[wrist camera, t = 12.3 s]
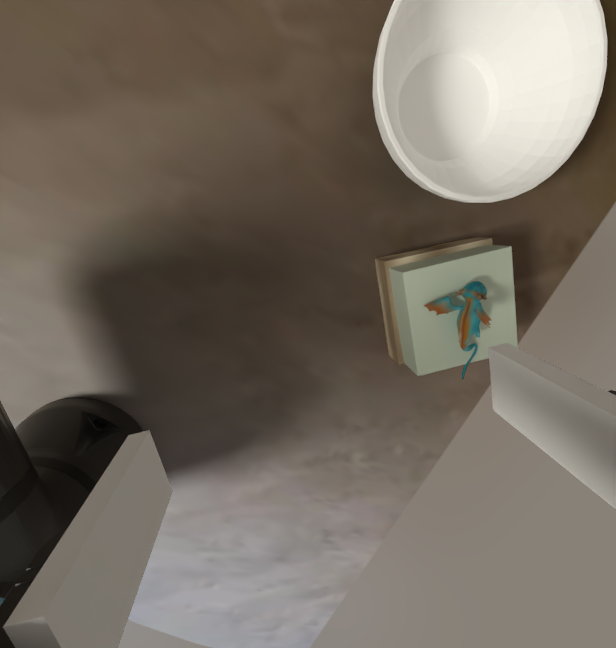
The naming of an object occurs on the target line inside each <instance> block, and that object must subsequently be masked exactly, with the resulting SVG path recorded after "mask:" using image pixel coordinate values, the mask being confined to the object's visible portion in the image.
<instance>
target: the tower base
mask: <svg viewBox="0 0 616 648" xmlns="http://www.w3.org/2000/svg"><path fill="white" fill-rule="evenodd" d="M487 244H490V245H493V241H492V238H481V237H473V238H468V239H463V240H459V241H454V242H450V243H445V244H440V245H436V246H431V247H427V248H422V249H418V250H413V251H408V252H404V253H399V254H395V255H390V256H385V257H381V258H376V259H375V264H376V271H377V278H378V285H379V291H380V298H381V305H382V312H383V318H384V325H385V332H386V339H387V346H388V352H389V356H390V357H391V358H392V359H393V360H394V361H395V362H396V363H397V364H398V365H403V364H405V363H404V360H403V354H402V347H401V341H400V335H399V328H398V322H397V316H396V310H395V303H394V297H393V291H392V285H391V278H390V272H389V268H391V267H396V266H400V265H404V264H408V263H412V262H416V261H420V260H425V259H429V258H433V257H437V256H441V255H445V254H449V253H454V252H458V251H462V250H466V249H470V248H474V247H478V246H482V245H487Z"/></svg>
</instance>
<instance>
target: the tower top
mask: <svg viewBox="0 0 616 648" xmlns="http://www.w3.org/2000/svg"><path fill="white" fill-rule="evenodd" d="M389 272H390V278H391V285H392V291H393V297H394V303H395V310H396V316H397V322H398V328H399V335H400V341H401V347H402V354H403V360H404V363H405V364H406V365H407V366H408V367H409V368H410V369H411V370H412V371H413V372H414V373H415V374H416V375H417V376H421V375H425V374H429V373H433V372H437V371H441V370H444V369H448V368H452V367H456V366H460V365H464V364H466V363H467V362H468V360H469V359H470V358H471V356H472V354H473V353H474V350H475V347H474V348H473V349H472V350H470V351H463V350H462V348H461V347H460V343H459V335H458V328H457V317H458V314H459V312H460V310H455V311H453V312H449V313H448V314H446V313H444V314H439V315H436V314H437V312H436V311H429V309H428V308H427V307H425V306H424V305H426V304H428V303H431V302H434V301H437V300H439V299H441V298H444V297H450V299H451V302H452V304H453V305H456V306H462V305H463V304H464V303H465V299H464V298H463V297H462V296H461V295H458V296H454V295H453V294H455V293H456V292H458V291H459V290H462V289H463V288H464V287H465V286H466V285H467V284H469V283H471V282H475V281H479V282H481V283H483V284H484V286H485V287H486V289H487V294H486V298H487V299H486V300H484V299H482V300H480V301H479V302H480V303H481V304H482V308H483V310H484V312H485V313H486V314H487V315H488V316H489V317H490V319H491V320H492V321H489V323H490V324H491V325H488V324H487V323H486V324H487V325H488V326H490V327H491V328H490V327H488V326H487V325H485V324H484V323H483V322H482V321H481V322H480V325H479V329H480V338H479V337H476V334H473V335H472V337H471V339H470V341H469V344H468V345H471V344H473V343H475V344H477V346H478V348H477V352H476V354H475V356H474V357H473V358H472V360H471V361H470V363H472V362H476V361H479V360H483V359H487V358H489V349H488V347H492V346H497V345H501V344H505V343H508V344H510V345H513V346H515V347H517V348H518V342H517V326H516V310H515V294H514V278H513V262H512V246H502V245H490V244H487V245H482V246H478V247H474V248H470V249H466V250H462V251H458V252H454V253H449V254H445V255H441V256H437V257H433V258H429V259H425V260H420V261H416V262H412V263H408V264H404V265H400V266H396V267H391V268H389Z"/></svg>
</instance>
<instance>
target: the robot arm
mask: <svg viewBox="0 0 616 648" xmlns="http://www.w3.org/2000/svg"><path fill="white" fill-rule="evenodd" d="M488 349H489V362H490V376H491V389H492V402H493V410H494V411H495V412H496V413H497V414H499V415H500V416H501V417H502V418H504V419H505V420H506V421H507V422H508V423H510V424H511V425H512V426H513V427H515V428H516V429H518V431H520V432H521V433H522V434H523V435H525V436H526V437H527V438H528V439H530V440H531V441H532V442H533V443H535V444H536V445H537V446H538V447H539V448H541V449H542V450H543V451H544V452H546V453H547V454H548V455H549V456H551V457H552V458H553V459H554V460H556V461H557V462H558V463H559V464H561V465H562V466H563V467H564V468H565V469H567V470H568V471H569V472H571V473H572V474H573V475H574V476H575V477H577V478H578V479H579V480H580V481H582V482H583V483H584V484H585V485H587V486H588V487H589V488H591V490H593V491H594V492H595V493H597V494H598V495H599V496H600V497H601V498H603V499H604V500H605V501H606V502H608V503H609V504H610V505H611V506H613V507H614V508H615V509H616V391H612V390H611V391H606V390H604V389H602V388H600V387H597V386H595V385H593V384H591V383H589V382H587V381H585V380H583V379H581V378H579V377H577V376H575V375H573V374H571V373H568V372H566V371H564V370H562V369H560V368H558V367H556V366H554V365H552V364H550V363H548V362H546V361H543V360H541V359H539V358H537V357H535V356H533V355H531V354H529V353H527V352H525V351H523V350H521V349H519V348H517V347H515V346H513V345H510V344H508V343H505V344H501V345H497V346H492V347H488ZM171 494H172V488H171V486H170V483H169V481H168V478H167V475H166V473H165V470H164V467H163V465H162V462H161V459H160V457H159V454H158V451H157V449H156V446H155V443H154V441H153V438H152V436H151V433H150V430H148V431H144V432H143V431H142V429H141V428H140V427H139V425H138V424H137V423H136V422H135V421H134V420H133V419H132V418H131V417H130V416H129V415H127V414H126V413H125V412H123V411H122V410H120V409H118V408H116V407H115V406H112V405H110V404H108V403H105V402H102V401H98V400H93V399H86V398H70V399H63V400H58V401H55V402H52V403H49V404H47V405H45V406H43V407H41V408H39V409H38V410H36V411H35V412H34V413H32V414H31V415H30V416H29V417H27V418H26V419H25V420H24V421H23V422H21V423H20V424H19V425H18V426H17V427H16V429H14V427H13V425H12V423H11V421H10V419H9V417H8V415H7V413H6V411H5V409H4V407H3V405H2V403H1V401H0V648H118V646H119V643H120V640H121V637H122V634H123V631H124V628H125V626H126V623H127V620H128V617H129V614H130V611H131V608H132V606H133V603H134V600H135V597H136V594H137V591H138V588H139V586H140V583H141V580H142V577H143V574H144V571H145V568H146V566H147V563H148V560H149V557H150V554H151V551H152V548H153V546H154V543H155V540H156V537H157V534H158V531H159V528H160V526H161V523H162V520H163V517H164V514H165V511H166V508H167V506H168V503H169V500H170V497H171Z"/></svg>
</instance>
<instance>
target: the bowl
mask: <svg viewBox="0 0 616 648" xmlns="http://www.w3.org/2000/svg"><path fill="white" fill-rule="evenodd" d="M606 68H607V33H606V26H605V19H604V12H603V9H602V6H601V3H600V0H394V2H393V5H392V7H391V9H390V11H389V14H388V17H387V19H386V22H385V24H384V27H383V30H382V32H381V35H380V38H379V43H378V48H377V53H376V58H375V63H374V70H373V104H374V111H375V118H376V122H377V125H378V128H379V131H380V134H381V137H382V140H383V143H384V144H385V146H386V148H387V150H388V152H389V154H390V155H391V157H392V159H393V161H394V162H395V163H396V164H397V165H398V167H399V168H400V169H401V170H402V171H403V172H404V174H405V175H406V176H407V177H409V178H410V179H411V180H412V181H414V182H415V183H416V184H418V185H419V186H420V187H421V188H423V189H425V190H428V191H430V192H432V193H434V194H436V195H438V196H441V197H443V198H446V199H451V200H455V201H460V202H466V203H486V202H496V201H500V200H505V199H509V198H513V197H515V196H518V195H520V194H522V193H524V192H526V191H529V190H531V189H533V188H534V187H536V186H537V185H539V184H540V183H541V182H543V181H544V180H546V179H547V178H549V177H550V176H551V175H552V174H553V173H554V172H555V171H556V170H557V169H558V168H559V167H560V166H562V165H563V164H564V163H565V162H566V161H567V160H568V158H569V157H570V156H571V154H572V153H573V151H574V150H575V149H576V147H577V146H578V145H579V143H580V142H581V140H582V139H583V137H584V135H585V133H586V131H587V129H588V127H589V125H590V123H591V121H592V120H593V118H594V115H595V112H596V109H597V106H598V103H599V100H600V97H601V94H602V91H603V85H604V79H605V73H606Z"/></svg>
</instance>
